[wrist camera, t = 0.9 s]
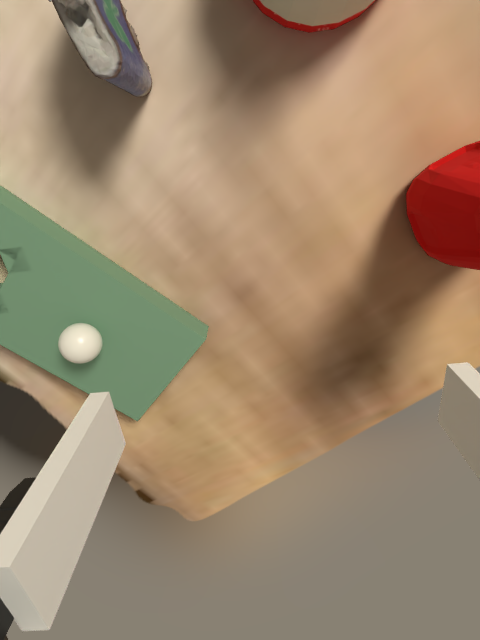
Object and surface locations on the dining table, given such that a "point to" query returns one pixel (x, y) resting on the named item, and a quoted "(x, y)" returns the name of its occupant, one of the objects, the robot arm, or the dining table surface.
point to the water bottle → (448, 208)
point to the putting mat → (87, 312)
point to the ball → (80, 343)
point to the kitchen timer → (313, 12)
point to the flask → (106, 42)
